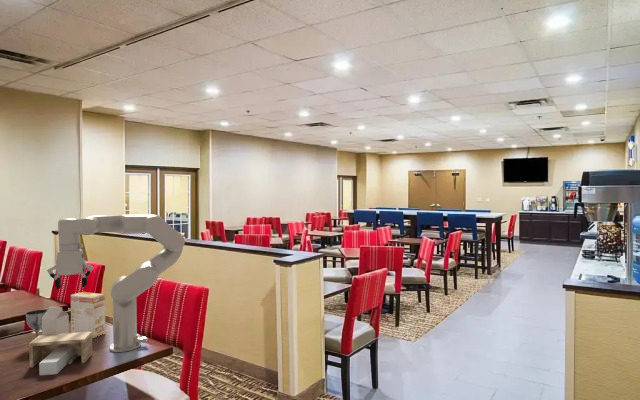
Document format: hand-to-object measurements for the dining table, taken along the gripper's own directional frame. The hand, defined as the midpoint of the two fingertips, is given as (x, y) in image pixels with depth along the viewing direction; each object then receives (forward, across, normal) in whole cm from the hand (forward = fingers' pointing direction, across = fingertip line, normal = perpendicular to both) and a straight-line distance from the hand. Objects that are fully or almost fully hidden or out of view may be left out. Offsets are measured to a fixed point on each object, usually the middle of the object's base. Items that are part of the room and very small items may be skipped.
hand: (71, 287), depth 176 cm
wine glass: (+29, +20, -17) cm, 39 cm away
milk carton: (+29, +9, -7) cm, 31 cm away
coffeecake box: (+29, +2, -25) cm, 39 cm away
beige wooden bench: (+29, +3, +6) cm, 29 cm away
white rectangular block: (+29, +3, +11) cm, 31 cm away
